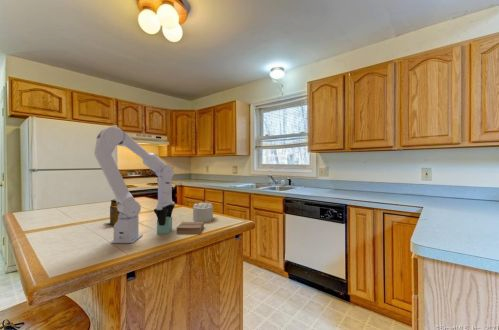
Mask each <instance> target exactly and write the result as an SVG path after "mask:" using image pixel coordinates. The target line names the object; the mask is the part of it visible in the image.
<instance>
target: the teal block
mask: <svg viewBox="0 0 499 330" xmlns="http://www.w3.org/2000/svg"><path fill="white" fill-rule="evenodd" d="M172 231H173V216H171V217H166V221H165V225H162V226H160V225H159V222H158V218H157V219H156V233H157V234H170V233H171V232H172Z"/></svg>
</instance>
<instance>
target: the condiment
mask: <svg viewBox="0 0 499 330" xmlns="http://www.w3.org/2000/svg"><path fill="white" fill-rule="evenodd" d="M119 213H120V212H119V211H118V210H117V202H116V200H115V198H114V199H112V200H110V205H109V222H106V223H103V225H104V226H105V227H107V228H110V227H114V225H115V223H116V222H117V221H118V215H119Z"/></svg>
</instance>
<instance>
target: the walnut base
mask: <svg viewBox="0 0 499 330" xmlns="http://www.w3.org/2000/svg"><path fill="white" fill-rule="evenodd" d="M204 228H205V223H204V222H195V221H182V222H181V223H180V224H178V226H177V227H176V234H177V235H180V234H181V235H182V234H184V235H185V234H188V235H189V234H190V235H191V234H192V235H194V234H195V235H197V234H201V233H202V231H203V230H204Z"/></svg>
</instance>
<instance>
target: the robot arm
mask: <svg viewBox="0 0 499 330" xmlns="http://www.w3.org/2000/svg"><path fill="white" fill-rule="evenodd" d="M117 146H119V147H120V146H121V147H125V148H127V149H128V150H129V151H131V152H132V153H133V154H134V155H136V156H139V158H141V159H142V163H143V164H144V165H145V166H146V167H147V168H148V169H150V170H151V171H153V172H154V174H155V175H156V177H157V204H156V208H154V209H153V212H154V214H155V215H156V217H157V219H158V222H159V225H160V226H162V225H165V221H166V217H172V214H173V210H174V209H175V206H176V205H175V204H176V203H175V201H173V198H172V196H173V195H172V194H173V193H172V191H173V189H172V187H173V185H172V184H173V183H172V182H173V181H172V179H173V177H174V175H175V171H174V169H173V167H172V166H171V165H168V164H167V162H166V161H164V160H162V159H161V158H159V157H158V156H159V155H158V154H157V153H153V152H148V151H146V149H144V148H143V147H142V146H141V145H140V144H139V143H138V142H137V141H135V139H133V138H132V137H131V136H130V135H129V134H128V133H127V132H125V131H123V130H122V129H121V128H120V127H118V126H109V127H107V128H104V129H101V130H100V132H99V133H98V135H97V136H96V142H95V147H94V151H93V152H94V155H95V158H96V160H97V162H98V164H99V166H100V168H101V171H102V172H103V174H104V176H105V178H106V180H107V182H108V185H109V186H110V188H111V190H112V193H113V195H114V196H115V198H114V199H115V200H116V202H117V210H118V211H119V212H120V213H119V215H118V221H117V222H116V223H115V225H114V226H113V240H111V241H110V242H111V244H133V243H134V242H136V241H137V240H139V239H140V238H142V236H143V234H142V233H139V231H140V230H139V228H140V227H139V226H140V225H139V214H140V212H141V209H142V207H141V204H140V202H138V201H136V199H135V198H134V196H133V195H132V194H131V192H130V191H129V189H128V187H127V184H126V182H125V180H124V178H123V176H122V174H121V171H120V170H119V168H118V165H117V164H116V161H115V158H114V157H113V155H112V154H113V152H114V150H115V149H116V147H117Z"/></svg>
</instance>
